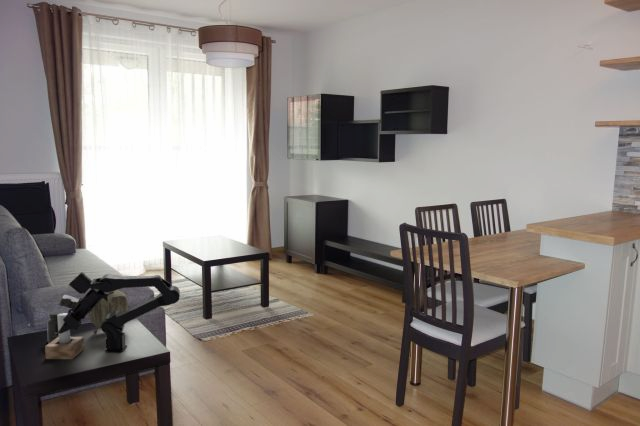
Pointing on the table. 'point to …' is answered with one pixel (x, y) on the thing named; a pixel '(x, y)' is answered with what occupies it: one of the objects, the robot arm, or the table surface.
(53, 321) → the supplement bottle
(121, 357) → the table surface
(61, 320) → the peg
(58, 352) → the socket block
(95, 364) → the table surface
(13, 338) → the table surface
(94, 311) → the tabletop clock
